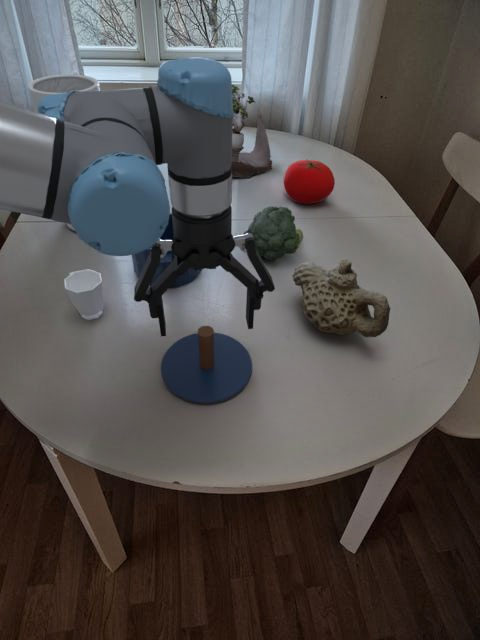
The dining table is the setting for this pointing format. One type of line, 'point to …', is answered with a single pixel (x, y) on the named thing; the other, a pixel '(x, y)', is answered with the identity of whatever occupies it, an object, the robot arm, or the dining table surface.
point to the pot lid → (206, 367)
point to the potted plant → (243, 161)
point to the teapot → (340, 300)
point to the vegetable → (275, 232)
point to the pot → (164, 261)
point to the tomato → (308, 181)
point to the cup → (86, 292)
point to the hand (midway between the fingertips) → (206, 326)
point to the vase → (60, 89)
